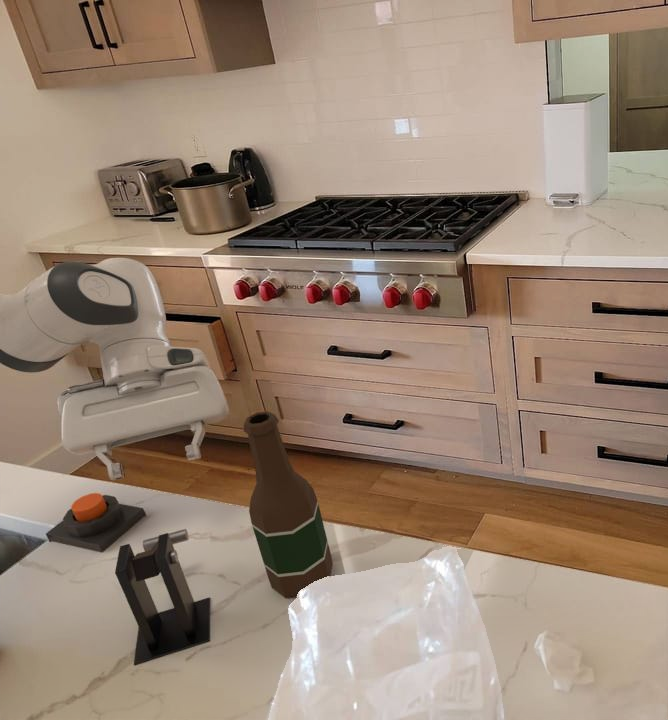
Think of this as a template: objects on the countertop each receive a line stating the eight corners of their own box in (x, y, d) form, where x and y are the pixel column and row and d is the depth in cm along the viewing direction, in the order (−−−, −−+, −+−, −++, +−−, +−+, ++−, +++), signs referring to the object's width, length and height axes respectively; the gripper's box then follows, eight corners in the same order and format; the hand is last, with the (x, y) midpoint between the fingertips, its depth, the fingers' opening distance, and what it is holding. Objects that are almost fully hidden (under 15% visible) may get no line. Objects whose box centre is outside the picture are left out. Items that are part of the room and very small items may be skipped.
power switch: (142, 625, 81) (106, 542, 75) (212, 603, 83) (182, 521, 77) (136, 671, 75) (97, 585, 69) (212, 647, 77) (180, 561, 71)
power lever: (147, 554, 84) (143, 535, 84) (190, 542, 86) (185, 524, 86) (122, 586, 72) (116, 564, 72) (172, 571, 73) (166, 550, 73)
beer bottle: (314, 611, 80) (268, 441, 70) (259, 598, 83) (206, 433, 72) (346, 564, 87) (308, 403, 76) (294, 554, 89) (250, 397, 79)
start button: (113, 506, 96) (109, 495, 96) (90, 524, 93) (86, 513, 92) (92, 502, 98) (87, 491, 97) (69, 519, 94) (64, 508, 94)
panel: (148, 520, 99) (139, 498, 97) (104, 558, 92) (94, 535, 90) (96, 509, 102) (87, 488, 100) (51, 545, 95) (40, 523, 94)
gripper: (45, 382, 87) (59, 486, 83) (212, 346, 92) (232, 442, 88) (65, 396, 93) (78, 494, 89) (220, 362, 98) (239, 453, 94)
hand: (156, 468), depth 88 cm, fingers open, 8 cm apart
